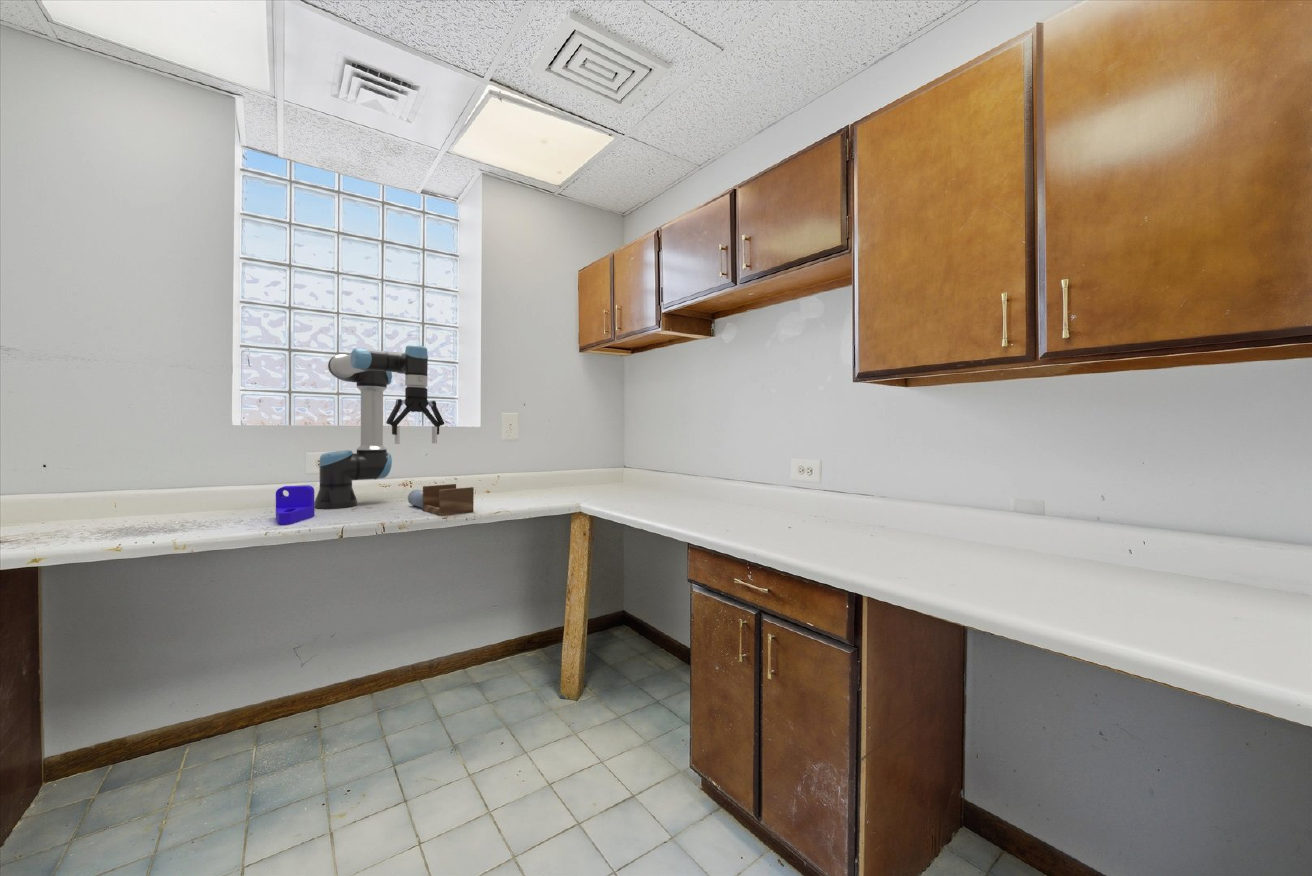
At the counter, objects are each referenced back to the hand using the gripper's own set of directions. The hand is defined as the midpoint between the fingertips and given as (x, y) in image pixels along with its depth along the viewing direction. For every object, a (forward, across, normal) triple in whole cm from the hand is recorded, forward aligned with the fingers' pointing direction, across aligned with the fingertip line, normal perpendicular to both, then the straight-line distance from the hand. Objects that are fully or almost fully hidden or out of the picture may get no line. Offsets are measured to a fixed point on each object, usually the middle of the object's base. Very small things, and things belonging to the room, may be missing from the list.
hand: (416, 443), depth 186 cm
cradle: (+28, +15, +5) cm, 32 cm away
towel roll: (+28, +12, +23) cm, 38 cm away
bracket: (+28, -34, +24) cm, 50 cm away
